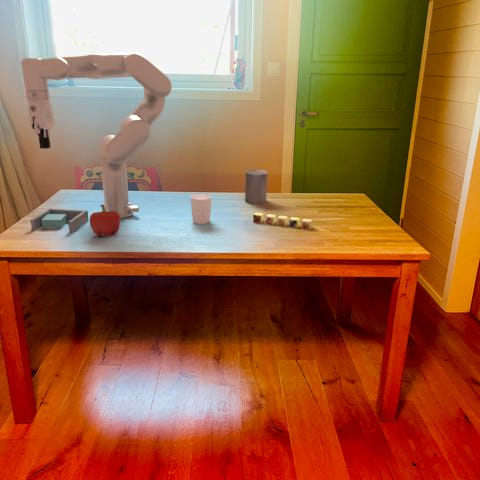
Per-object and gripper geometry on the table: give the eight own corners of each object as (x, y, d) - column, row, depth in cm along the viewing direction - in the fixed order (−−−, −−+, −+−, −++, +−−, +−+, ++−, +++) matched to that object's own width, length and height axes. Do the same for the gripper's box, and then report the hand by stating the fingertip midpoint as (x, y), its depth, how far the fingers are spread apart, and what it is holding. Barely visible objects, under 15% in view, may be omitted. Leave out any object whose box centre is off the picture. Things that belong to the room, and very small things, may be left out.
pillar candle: (243, 198, 219) (244, 166, 214) (264, 198, 220) (265, 166, 215) (246, 204, 210) (247, 171, 205) (268, 204, 211) (269, 171, 206)
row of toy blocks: (256, 211, 203) (256, 203, 202) (331, 220, 193) (331, 212, 191) (229, 234, 174) (229, 225, 173) (315, 246, 164) (315, 237, 163)
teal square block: (67, 222, 182) (66, 214, 181) (61, 228, 176) (60, 219, 174) (48, 222, 182) (47, 214, 180) (42, 228, 175) (41, 219, 174)
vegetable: (89, 231, 173) (86, 204, 170) (117, 227, 177) (115, 201, 174) (93, 240, 164) (90, 213, 160) (123, 237, 168) (121, 210, 164)
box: (88, 220, 184) (87, 210, 183) (72, 232, 171) (71, 221, 170) (50, 218, 186) (49, 208, 184) (31, 230, 173) (30, 219, 171)
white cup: (215, 221, 187) (215, 197, 183) (200, 226, 181) (200, 200, 178) (201, 217, 192) (201, 193, 188) (187, 221, 186) (186, 196, 183)
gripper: (38, 97, 159) (46, 151, 166) (56, 94, 173) (63, 144, 180) (16, 97, 159) (25, 151, 166) (36, 94, 173) (44, 144, 180)
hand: (45, 147), depth 173 cm, fingers closed
